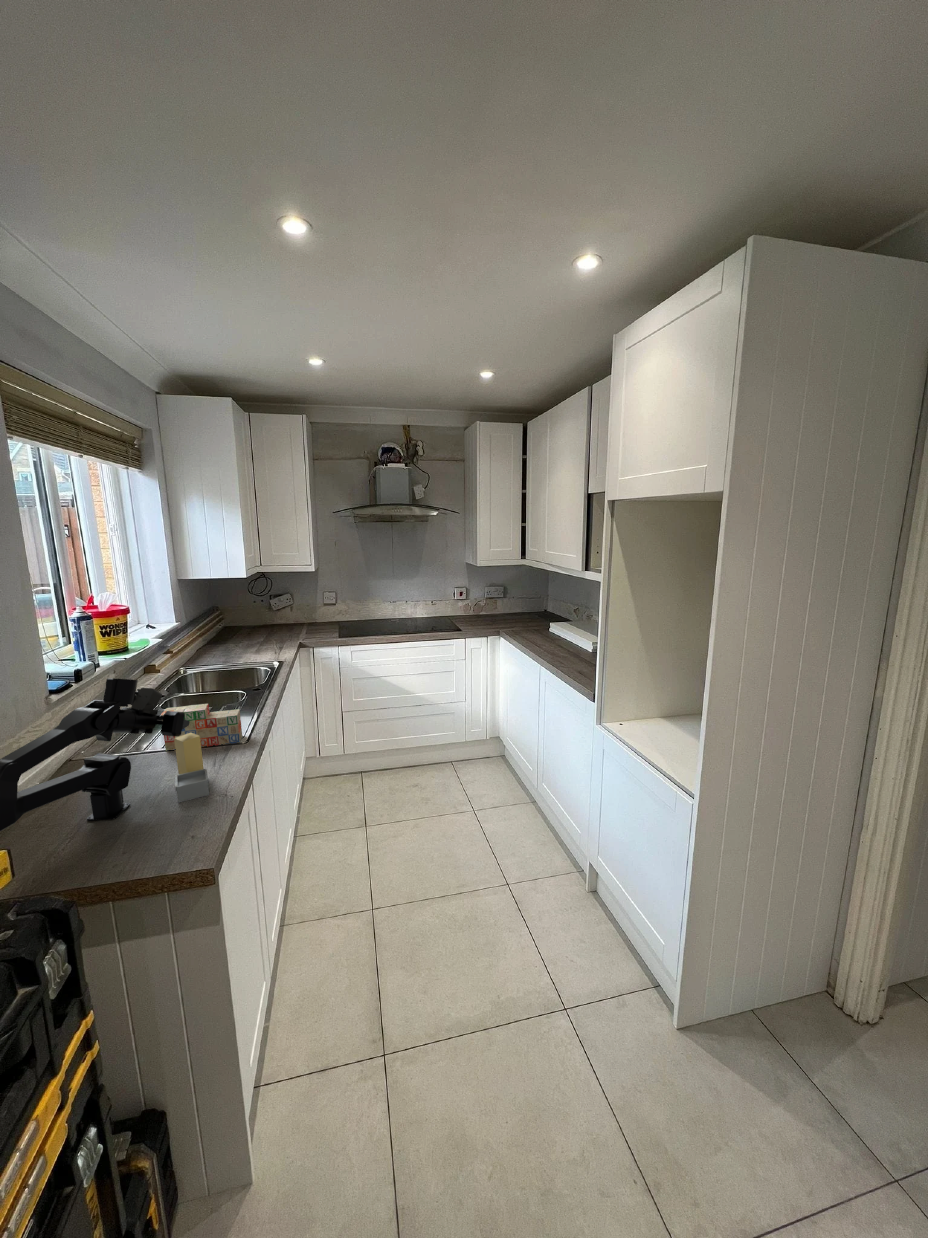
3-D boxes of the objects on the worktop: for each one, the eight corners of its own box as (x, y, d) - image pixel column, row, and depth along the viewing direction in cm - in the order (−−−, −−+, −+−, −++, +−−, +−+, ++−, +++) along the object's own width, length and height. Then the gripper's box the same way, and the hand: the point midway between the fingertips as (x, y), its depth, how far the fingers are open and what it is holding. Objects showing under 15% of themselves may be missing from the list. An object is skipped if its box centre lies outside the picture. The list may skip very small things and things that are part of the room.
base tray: (177, 803, 124) (175, 787, 123) (176, 790, 130) (175, 775, 129) (210, 795, 127) (208, 779, 127) (208, 783, 134) (206, 768, 133)
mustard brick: (188, 784, 133) (183, 741, 131) (179, 779, 136) (174, 738, 134) (204, 777, 137) (199, 735, 135) (195, 773, 139) (190, 732, 137)
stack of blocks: (242, 735, 165) (239, 700, 163) (240, 743, 159) (236, 706, 157) (170, 744, 160) (166, 707, 158) (165, 752, 154) (160, 714, 152)
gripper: (163, 690, 123) (208, 694, 138) (103, 686, 128) (153, 690, 142) (154, 737, 121) (201, 736, 136) (93, 731, 125) (145, 730, 140)
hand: (175, 722), depth 139 cm, fingers open, 9 cm apart
